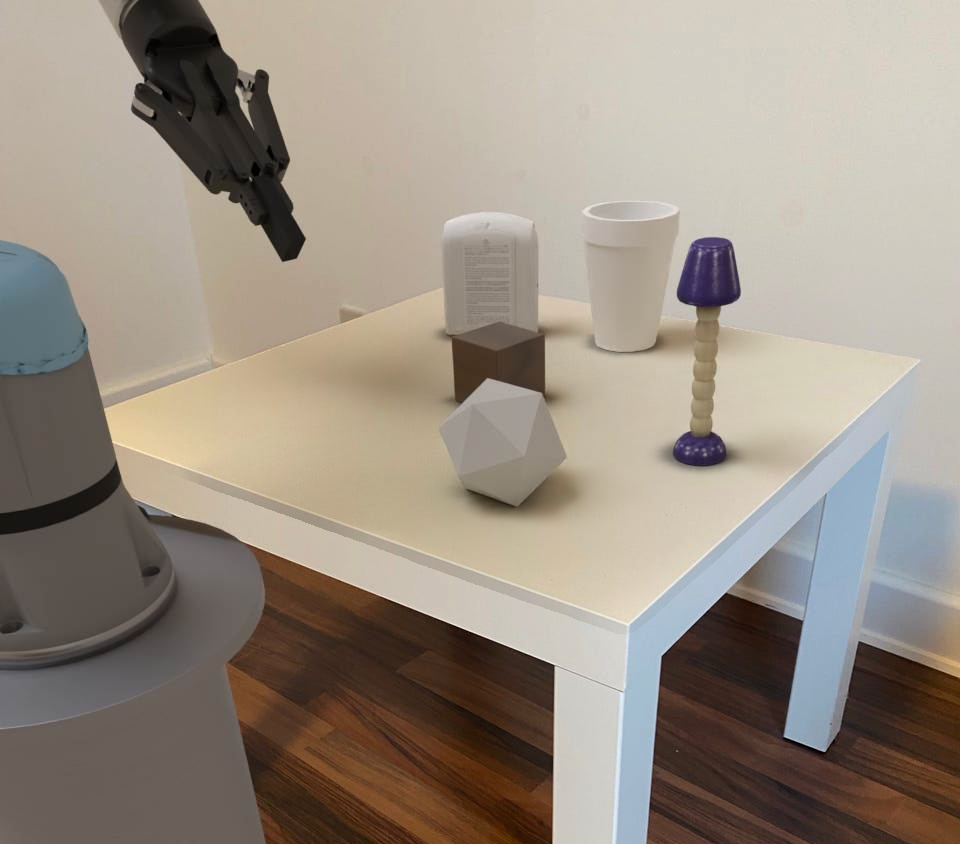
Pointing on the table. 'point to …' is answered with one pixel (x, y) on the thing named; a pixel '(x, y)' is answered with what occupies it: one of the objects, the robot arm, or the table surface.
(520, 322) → the white boxy piece
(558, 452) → the die
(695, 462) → the toy lamp
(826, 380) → the table surface
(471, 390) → the walnut block
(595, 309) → the foam cup
